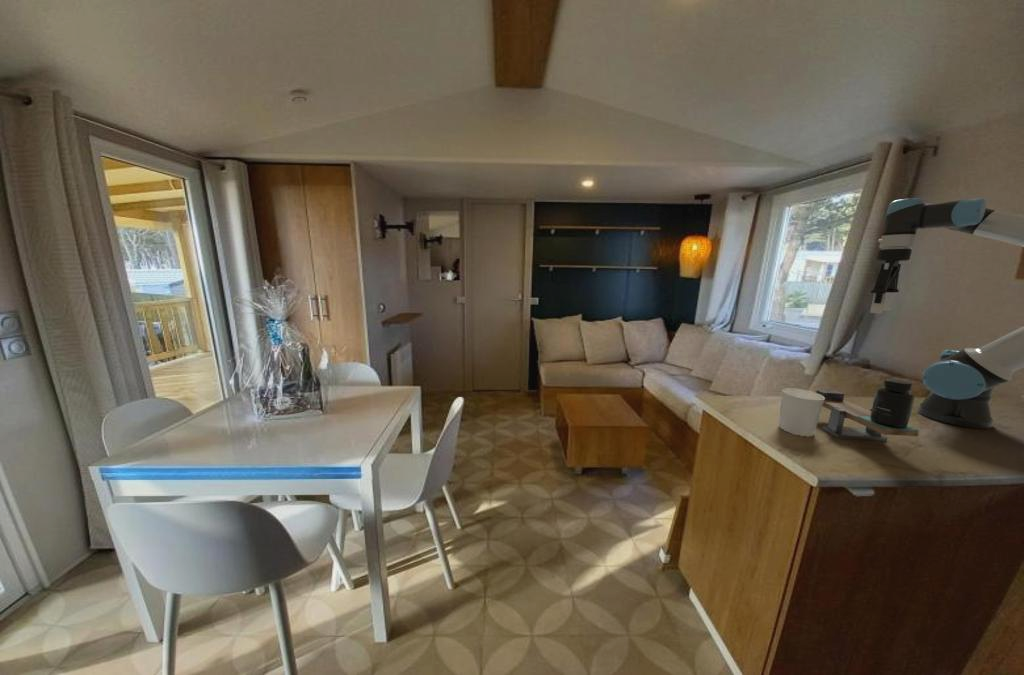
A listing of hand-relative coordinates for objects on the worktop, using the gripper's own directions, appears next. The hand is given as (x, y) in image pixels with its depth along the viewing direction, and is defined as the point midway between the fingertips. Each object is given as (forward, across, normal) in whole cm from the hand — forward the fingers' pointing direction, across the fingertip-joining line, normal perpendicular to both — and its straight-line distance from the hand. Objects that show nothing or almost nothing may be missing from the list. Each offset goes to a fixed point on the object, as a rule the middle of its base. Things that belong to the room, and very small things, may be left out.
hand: (880, 312), depth 115 cm
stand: (+35, +33, +5) cm, 48 cm away
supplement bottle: (+27, +39, +12) cm, 49 cm away
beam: (+29, +33, +5) cm, 44 cm away
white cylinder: (+35, +44, -5) cm, 57 cm away
